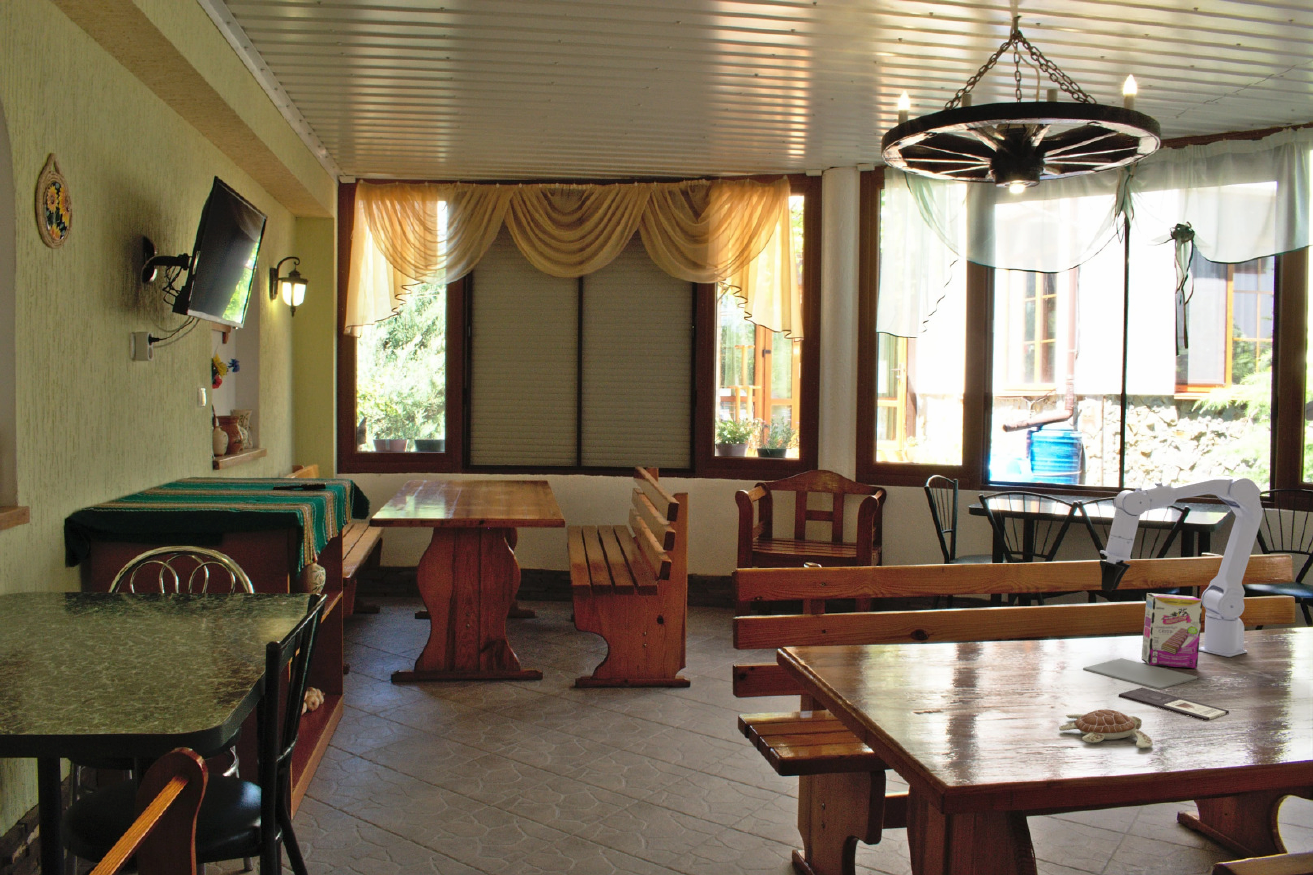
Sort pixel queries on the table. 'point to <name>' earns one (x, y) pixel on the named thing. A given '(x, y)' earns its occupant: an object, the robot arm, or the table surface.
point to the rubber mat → (1140, 673)
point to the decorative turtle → (1108, 727)
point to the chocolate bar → (1174, 703)
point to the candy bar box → (1171, 630)
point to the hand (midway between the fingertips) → (1108, 589)
